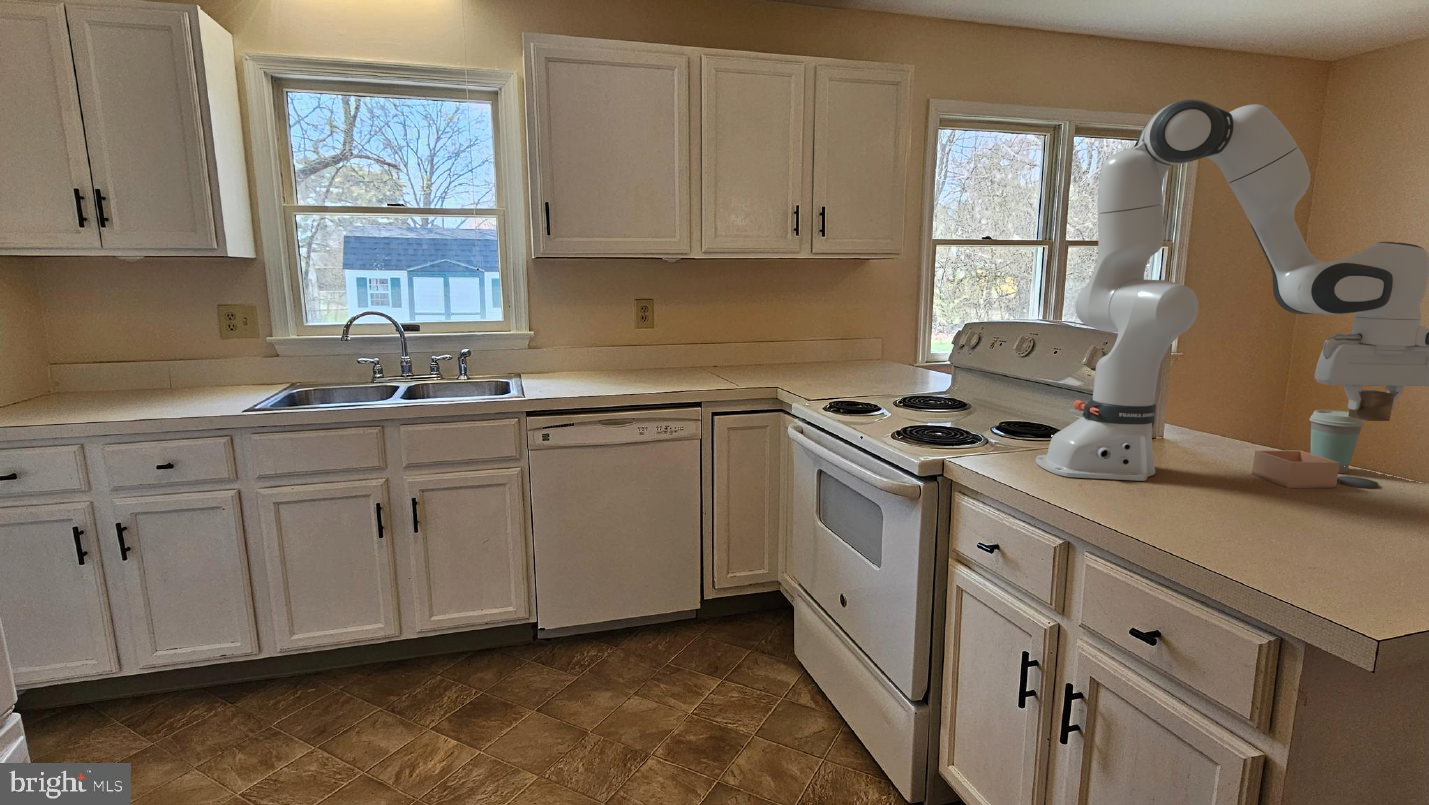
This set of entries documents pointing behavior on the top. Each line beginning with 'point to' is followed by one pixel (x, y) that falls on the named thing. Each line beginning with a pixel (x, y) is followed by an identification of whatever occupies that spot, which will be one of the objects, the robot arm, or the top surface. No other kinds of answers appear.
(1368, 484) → the dark grey flat disc
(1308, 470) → the pink open square tray
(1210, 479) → the top surface
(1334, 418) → the coffee cup
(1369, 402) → the walnut block
